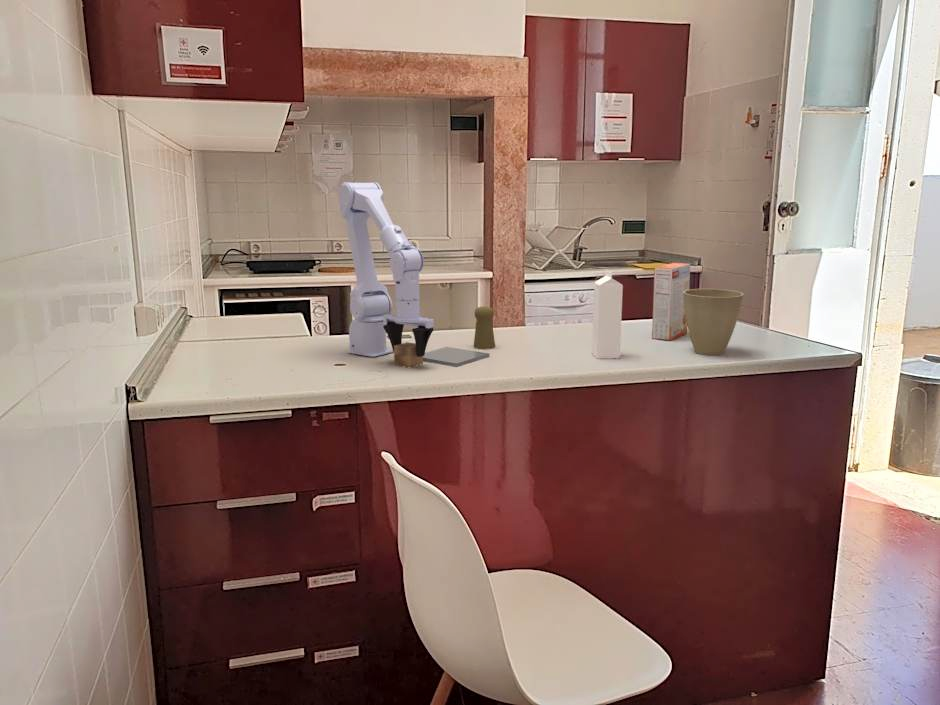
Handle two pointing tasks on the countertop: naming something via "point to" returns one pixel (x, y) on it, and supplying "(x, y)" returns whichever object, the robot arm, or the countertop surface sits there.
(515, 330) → the countertop surface
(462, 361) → the slate board
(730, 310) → the plant pot
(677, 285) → the cracker box
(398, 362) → the walnut cube
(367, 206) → the robot arm
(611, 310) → the milk
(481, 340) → the cork
